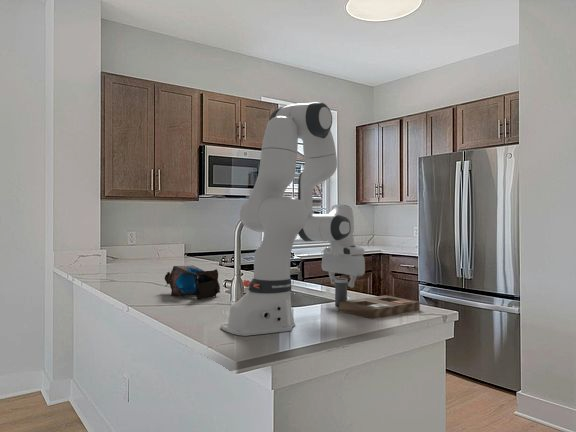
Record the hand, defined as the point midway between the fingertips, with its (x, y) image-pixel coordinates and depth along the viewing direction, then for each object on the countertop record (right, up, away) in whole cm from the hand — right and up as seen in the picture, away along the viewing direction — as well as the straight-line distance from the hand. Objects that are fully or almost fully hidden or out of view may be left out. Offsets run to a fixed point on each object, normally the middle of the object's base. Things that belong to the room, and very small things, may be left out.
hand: (342, 285), depth 168 cm
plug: (-1, -7, 0) cm, 7 cm away
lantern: (-61, -7, +18) cm, 64 cm away
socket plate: (+12, -8, -8) cm, 17 cm away
